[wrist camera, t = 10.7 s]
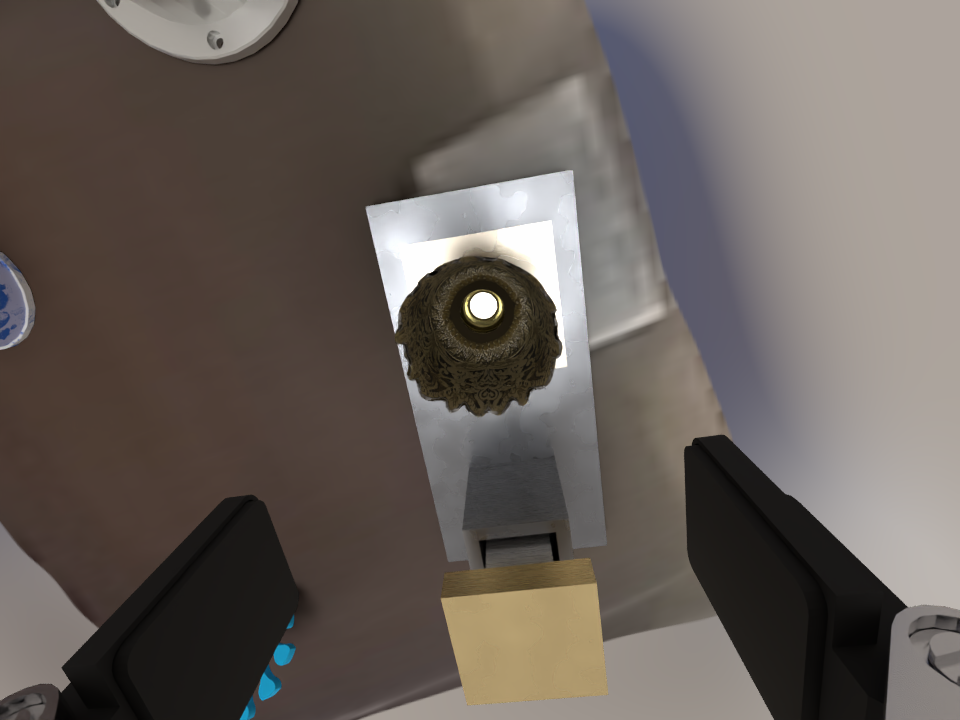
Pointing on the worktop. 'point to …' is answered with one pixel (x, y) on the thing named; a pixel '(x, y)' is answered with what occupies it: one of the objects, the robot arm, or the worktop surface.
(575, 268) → the base
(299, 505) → the worktop surface
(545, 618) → the plate
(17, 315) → the aerosol can
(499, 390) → the dark brown rounded piece
